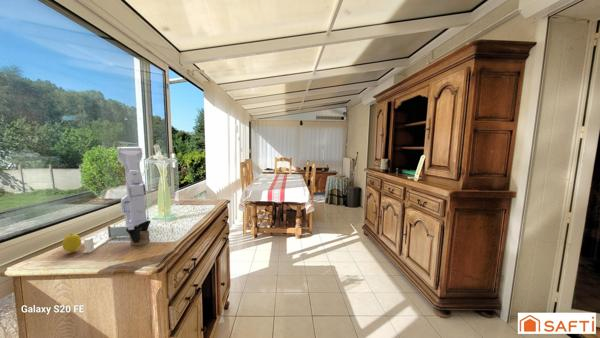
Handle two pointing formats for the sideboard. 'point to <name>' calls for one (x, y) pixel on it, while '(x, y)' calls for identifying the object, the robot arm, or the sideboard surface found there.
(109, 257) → the sideboard surface
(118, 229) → the door
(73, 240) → the lemon
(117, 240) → the sideboard surface
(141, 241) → the brown block
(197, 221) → the sideboard surface
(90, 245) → the white bracket
